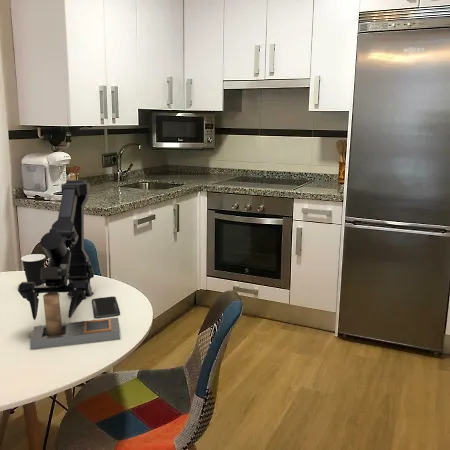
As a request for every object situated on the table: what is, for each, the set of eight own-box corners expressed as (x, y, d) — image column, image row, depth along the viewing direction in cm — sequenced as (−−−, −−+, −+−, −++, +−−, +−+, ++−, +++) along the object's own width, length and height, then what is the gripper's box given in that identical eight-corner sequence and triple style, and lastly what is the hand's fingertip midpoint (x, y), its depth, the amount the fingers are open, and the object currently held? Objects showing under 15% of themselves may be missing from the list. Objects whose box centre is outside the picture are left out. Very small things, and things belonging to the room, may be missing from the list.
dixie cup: (51, 286, 171) (49, 257, 169) (29, 292, 166) (26, 262, 164) (42, 281, 177) (39, 252, 174) (20, 286, 172) (17, 257, 169)
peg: (58, 334, 134) (54, 291, 131) (65, 339, 132) (61, 294, 129) (44, 339, 132) (40, 295, 128) (52, 344, 129) (48, 299, 126)
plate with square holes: (30, 349, 126) (29, 339, 125) (34, 334, 134) (33, 325, 134) (120, 339, 132) (119, 329, 131) (118, 325, 140) (118, 316, 140)
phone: (94, 316, 144) (91, 298, 158) (94, 320, 145) (91, 301, 158) (120, 313, 147) (115, 295, 161) (121, 316, 147) (115, 299, 161)
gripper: (16, 254, 129) (6, 308, 121) (86, 252, 131) (81, 306, 123) (28, 272, 139) (19, 324, 131) (94, 270, 140) (89, 321, 132)
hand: (51, 318), depth 129 cm, fingers open, 9 cm apart
